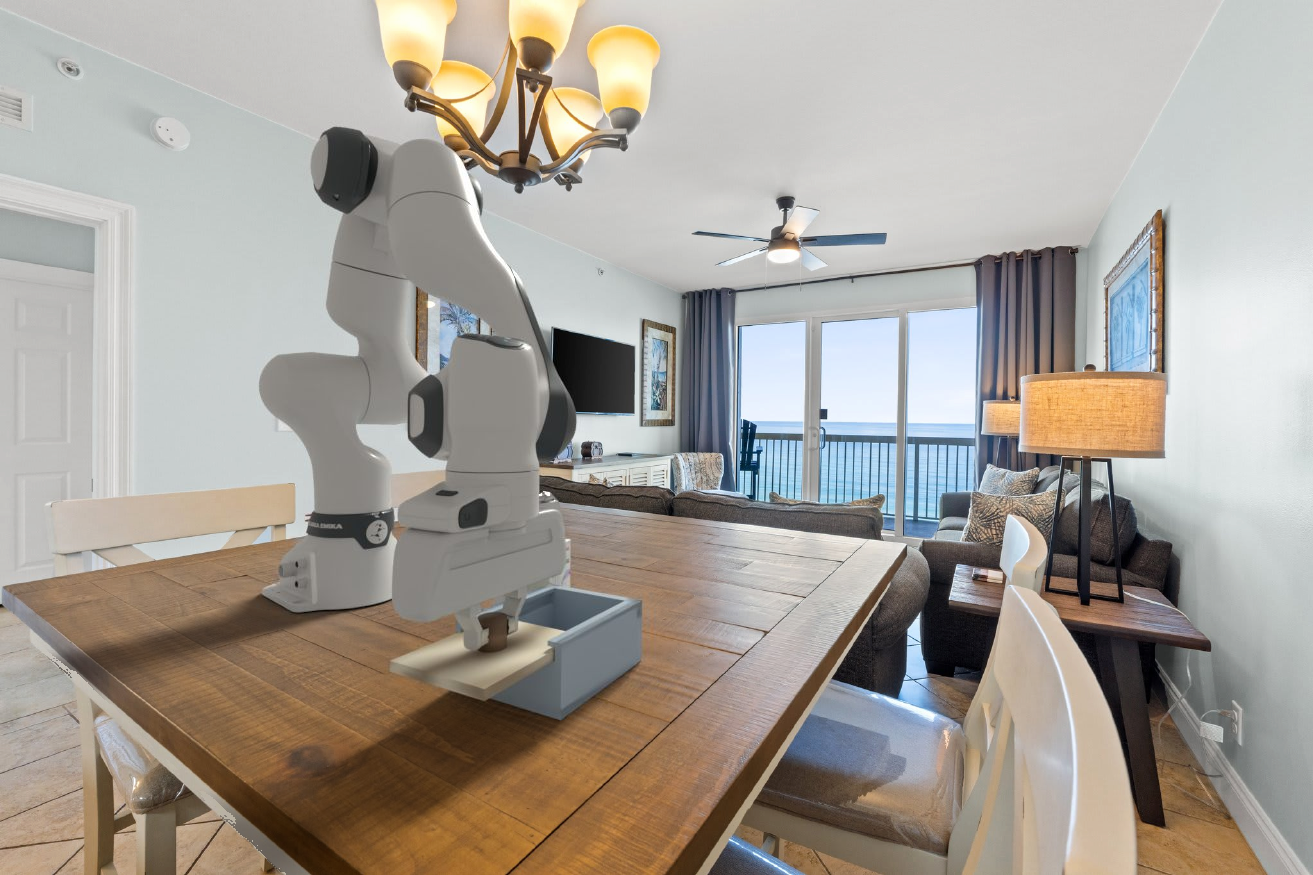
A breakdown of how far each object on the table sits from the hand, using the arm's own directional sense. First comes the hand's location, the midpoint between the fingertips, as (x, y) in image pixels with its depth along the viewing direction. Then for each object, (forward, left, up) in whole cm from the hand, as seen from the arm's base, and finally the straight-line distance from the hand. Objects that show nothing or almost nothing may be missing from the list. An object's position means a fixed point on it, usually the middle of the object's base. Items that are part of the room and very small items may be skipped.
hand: (491, 640), depth 56 cm
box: (0, +10, -7) cm, 12 cm away
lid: (0, 0, -2) cm, 2 cm away
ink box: (-13, +22, -8) cm, 27 cm away
